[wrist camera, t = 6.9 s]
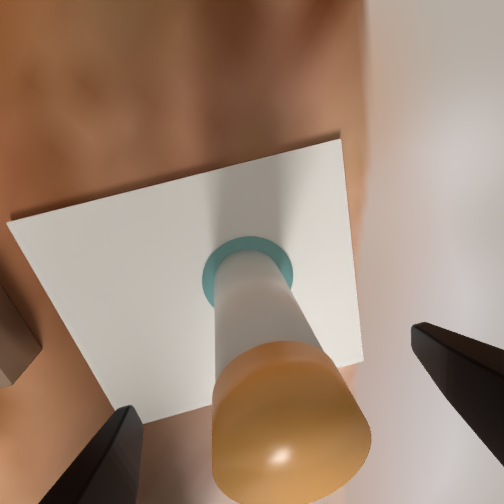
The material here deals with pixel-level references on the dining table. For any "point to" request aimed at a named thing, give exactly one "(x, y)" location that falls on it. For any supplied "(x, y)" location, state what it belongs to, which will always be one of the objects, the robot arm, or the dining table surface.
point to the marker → (276, 394)
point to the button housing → (14, 342)
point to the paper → (194, 270)
